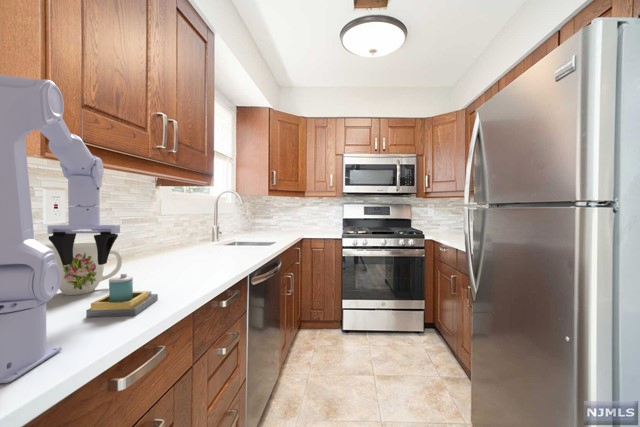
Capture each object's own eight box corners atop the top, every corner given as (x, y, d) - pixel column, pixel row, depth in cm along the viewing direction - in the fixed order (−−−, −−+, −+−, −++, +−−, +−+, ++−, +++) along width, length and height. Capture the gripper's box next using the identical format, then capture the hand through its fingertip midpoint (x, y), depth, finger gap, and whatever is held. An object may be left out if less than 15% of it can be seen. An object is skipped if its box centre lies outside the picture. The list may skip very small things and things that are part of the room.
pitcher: (126, 288, 85) (125, 241, 85) (41, 302, 72) (40, 247, 72) (117, 281, 93) (117, 238, 92) (39, 293, 80) (38, 243, 79)
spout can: (126, 306, 65) (126, 277, 65) (104, 307, 65) (104, 277, 65) (137, 300, 70) (136, 272, 70) (116, 300, 69) (116, 273, 69)
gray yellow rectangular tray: (135, 315, 64) (135, 302, 64) (86, 317, 63) (86, 303, 63) (160, 297, 76) (160, 286, 76) (119, 299, 75) (119, 287, 75)
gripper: (126, 206, 73) (127, 260, 73) (63, 206, 71) (64, 261, 71) (109, 206, 66) (110, 266, 66) (39, 206, 64) (40, 267, 64)
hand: (85, 264), depth 68 cm, fingers open, 7 cm apart
